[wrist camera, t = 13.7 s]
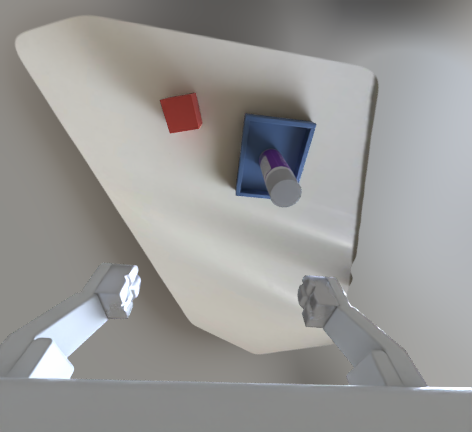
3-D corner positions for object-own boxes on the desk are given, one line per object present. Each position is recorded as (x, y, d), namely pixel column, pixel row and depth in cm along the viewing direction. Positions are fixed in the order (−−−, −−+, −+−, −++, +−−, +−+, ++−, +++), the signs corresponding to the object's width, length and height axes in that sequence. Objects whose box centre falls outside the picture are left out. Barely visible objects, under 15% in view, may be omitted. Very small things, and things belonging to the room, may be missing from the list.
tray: (245, 113, 38) (245, 115, 36) (312, 121, 39) (316, 124, 37) (235, 190, 47) (235, 195, 44) (290, 195, 48) (293, 201, 45)
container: (285, 152, 42) (308, 183, 29) (276, 173, 44) (294, 211, 31) (263, 145, 41) (276, 174, 28) (255, 167, 43) (264, 204, 31)
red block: (167, 97, 37) (159, 99, 32) (195, 92, 36) (190, 94, 32) (176, 127, 39) (169, 133, 35) (202, 123, 39) (198, 128, 35)
